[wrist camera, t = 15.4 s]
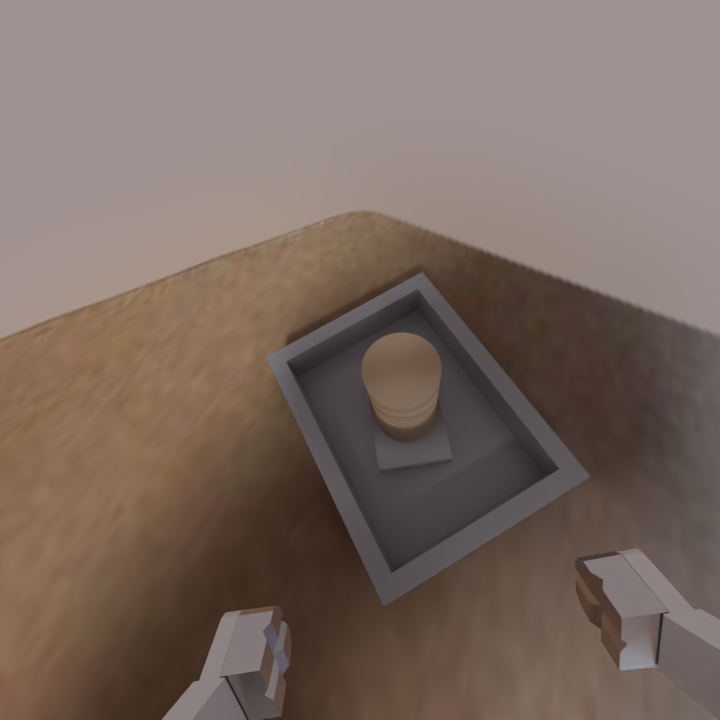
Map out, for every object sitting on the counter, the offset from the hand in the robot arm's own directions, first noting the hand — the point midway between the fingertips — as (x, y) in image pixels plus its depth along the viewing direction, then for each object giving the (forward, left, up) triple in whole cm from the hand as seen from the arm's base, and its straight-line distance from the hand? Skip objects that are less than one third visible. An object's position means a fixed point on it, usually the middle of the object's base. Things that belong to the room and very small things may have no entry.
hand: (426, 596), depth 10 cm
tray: (+8, -4, -16) cm, 18 cm away
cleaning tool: (+8, -4, -15) cm, 17 cm away
